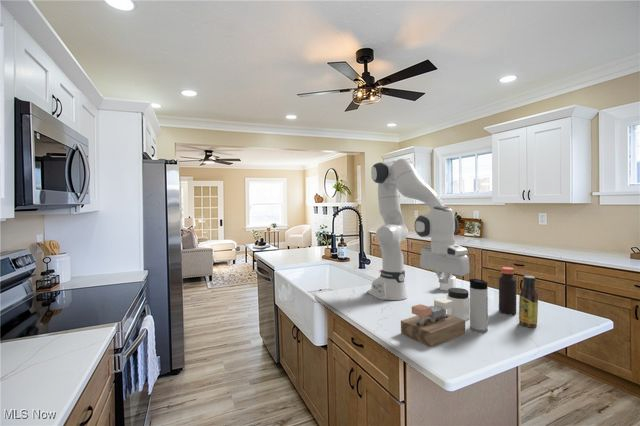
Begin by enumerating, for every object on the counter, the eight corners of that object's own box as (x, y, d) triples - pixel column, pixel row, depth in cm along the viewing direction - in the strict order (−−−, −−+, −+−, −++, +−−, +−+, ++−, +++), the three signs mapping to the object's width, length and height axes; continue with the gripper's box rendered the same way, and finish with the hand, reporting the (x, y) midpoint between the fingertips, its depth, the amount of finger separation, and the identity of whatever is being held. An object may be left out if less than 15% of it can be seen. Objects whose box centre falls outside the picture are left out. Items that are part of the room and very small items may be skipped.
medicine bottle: (443, 287, 184) (442, 266, 184) (456, 288, 180) (455, 267, 179) (439, 290, 178) (439, 268, 178) (453, 291, 174) (452, 270, 174)
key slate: (423, 327, 122) (423, 308, 122) (431, 324, 125) (431, 305, 124) (434, 331, 118) (434, 311, 117) (442, 328, 120) (442, 309, 120)
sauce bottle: (515, 322, 130) (515, 274, 129) (530, 321, 130) (531, 274, 129) (525, 328, 124) (525, 278, 123) (541, 328, 123) (541, 278, 123)
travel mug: (465, 326, 126) (465, 277, 126) (481, 326, 127) (481, 276, 126) (474, 333, 120) (474, 281, 119) (491, 332, 121) (491, 280, 120)
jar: (460, 323, 130) (460, 294, 130) (443, 317, 137) (443, 290, 137) (473, 318, 135) (473, 290, 135) (455, 312, 142) (455, 286, 142)
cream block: (434, 318, 125) (434, 300, 125) (442, 316, 128) (442, 297, 128) (445, 322, 121) (445, 303, 121) (453, 319, 124) (453, 300, 123)
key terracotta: (411, 326, 118) (411, 306, 118) (420, 323, 121) (420, 304, 121) (422, 330, 114) (422, 310, 114) (431, 327, 117) (431, 307, 116)
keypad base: (401, 333, 122) (400, 320, 121) (434, 321, 132) (434, 310, 132) (431, 347, 110) (431, 333, 110) (465, 333, 121) (465, 320, 120)
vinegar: (500, 314, 139) (500, 269, 138) (497, 309, 146) (497, 266, 145) (518, 315, 137) (518, 270, 136) (514, 310, 143) (514, 267, 142)
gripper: (416, 245, 130) (416, 279, 131) (461, 251, 113) (462, 290, 114) (426, 244, 134) (426, 276, 134) (471, 250, 117) (472, 287, 117)
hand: (443, 283), depth 124 cm, fingers closed
